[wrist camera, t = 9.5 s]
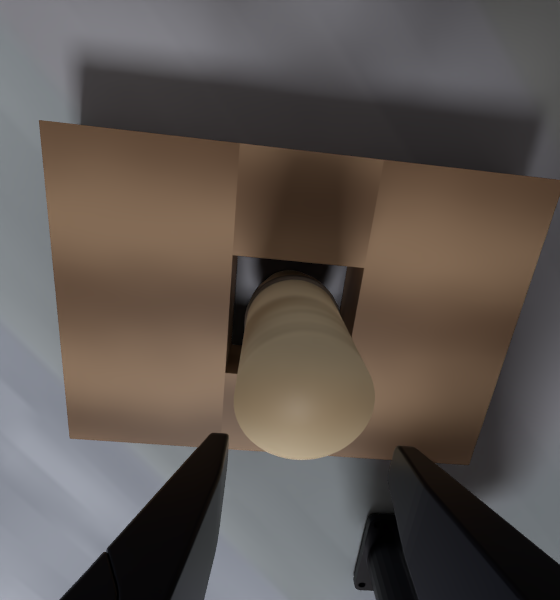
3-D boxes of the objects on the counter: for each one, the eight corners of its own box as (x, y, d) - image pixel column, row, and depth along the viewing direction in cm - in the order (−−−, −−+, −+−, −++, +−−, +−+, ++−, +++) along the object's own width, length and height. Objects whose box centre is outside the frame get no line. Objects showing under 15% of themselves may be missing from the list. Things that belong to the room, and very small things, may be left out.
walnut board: (442, 427, 22) (468, 465, 19) (97, 402, 20) (69, 438, 18) (515, 179, 17) (564, 180, 14) (80, 130, 16) (38, 120, 13)
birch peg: (323, 339, 20) (363, 466, 11) (245, 333, 19) (226, 457, 11) (334, 264, 18) (390, 342, 10) (251, 256, 18) (235, 329, 10)
